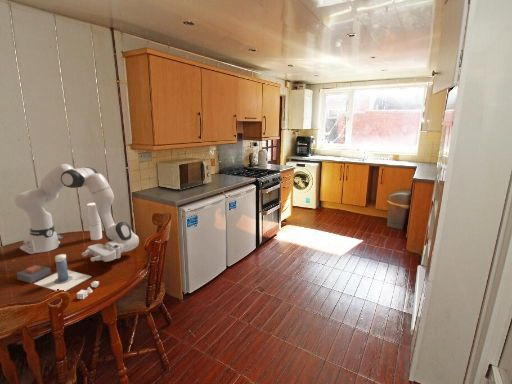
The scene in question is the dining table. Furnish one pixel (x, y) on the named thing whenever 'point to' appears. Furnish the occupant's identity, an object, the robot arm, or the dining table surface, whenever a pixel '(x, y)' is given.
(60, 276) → the blue and white cylinder
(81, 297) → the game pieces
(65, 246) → the dining table surface
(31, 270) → the button
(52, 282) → the paper sheet
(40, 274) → the button housing
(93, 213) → the cylindrical container
